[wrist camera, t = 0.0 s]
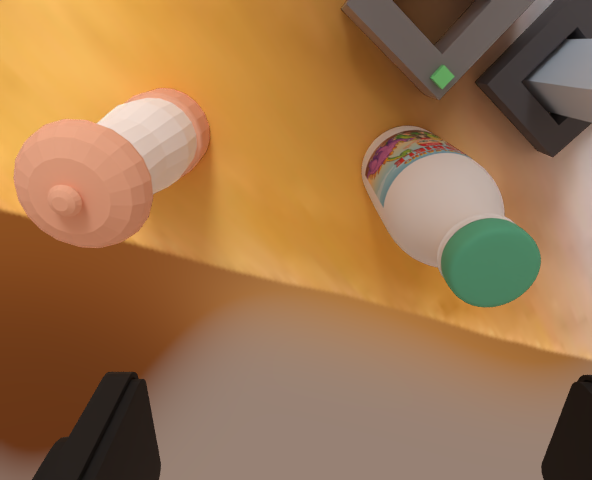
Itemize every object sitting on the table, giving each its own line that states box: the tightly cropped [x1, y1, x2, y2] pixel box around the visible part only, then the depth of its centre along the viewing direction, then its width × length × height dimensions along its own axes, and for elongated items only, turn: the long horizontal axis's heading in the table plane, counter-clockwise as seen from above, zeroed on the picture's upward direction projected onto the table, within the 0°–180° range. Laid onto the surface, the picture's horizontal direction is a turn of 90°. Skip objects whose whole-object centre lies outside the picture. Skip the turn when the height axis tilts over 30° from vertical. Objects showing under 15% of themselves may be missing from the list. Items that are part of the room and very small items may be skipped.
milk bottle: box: [362, 126, 541, 307], centre depth 30 cm, size 8×8×20 cm
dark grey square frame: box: [475, 0, 592, 157], centre depth 34 cm, size 9×9×2 cm
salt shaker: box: [14, 88, 210, 248], centre depth 29 cm, size 7×7×19 cm
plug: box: [522, 39, 592, 123], centre depth 31 cm, size 4×4×11 cm
